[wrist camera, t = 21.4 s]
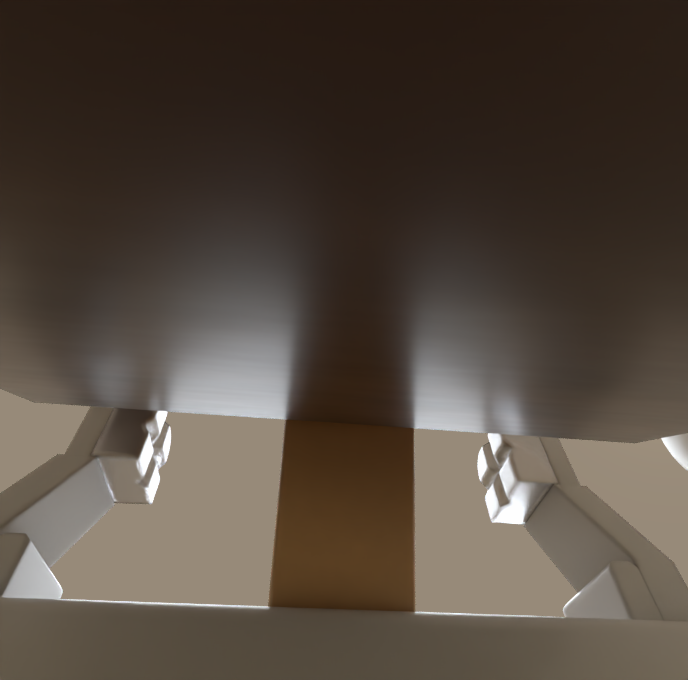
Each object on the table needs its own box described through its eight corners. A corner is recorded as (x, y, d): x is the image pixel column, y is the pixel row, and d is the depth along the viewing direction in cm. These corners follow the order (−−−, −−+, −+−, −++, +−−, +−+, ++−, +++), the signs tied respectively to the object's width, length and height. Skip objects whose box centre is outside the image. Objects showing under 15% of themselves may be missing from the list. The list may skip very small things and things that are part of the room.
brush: (168, 634, 6) (209, 591, 10) (517, 643, 7) (443, 599, 10) (295, -193, 14) (294, -57, 17) (460, -163, 14) (428, -36, 17)
